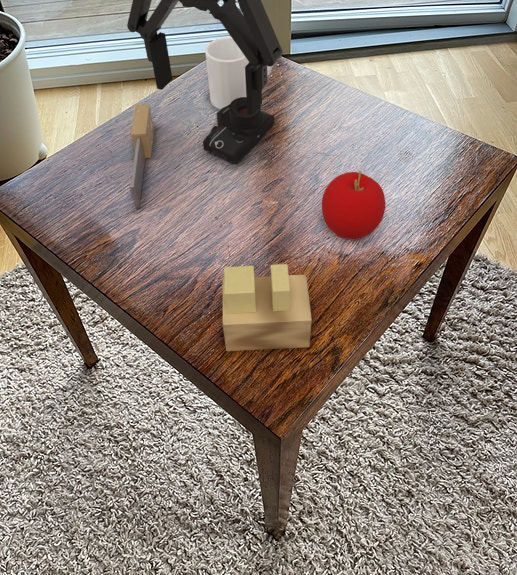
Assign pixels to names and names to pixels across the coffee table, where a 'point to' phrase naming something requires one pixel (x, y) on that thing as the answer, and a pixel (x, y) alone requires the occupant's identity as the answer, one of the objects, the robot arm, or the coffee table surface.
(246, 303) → the butter block
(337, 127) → the coffee table surface
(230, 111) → the film camera
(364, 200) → the fruit
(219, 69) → the mug
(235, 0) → the robot arm
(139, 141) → the knife
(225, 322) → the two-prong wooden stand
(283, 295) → the butter slice
